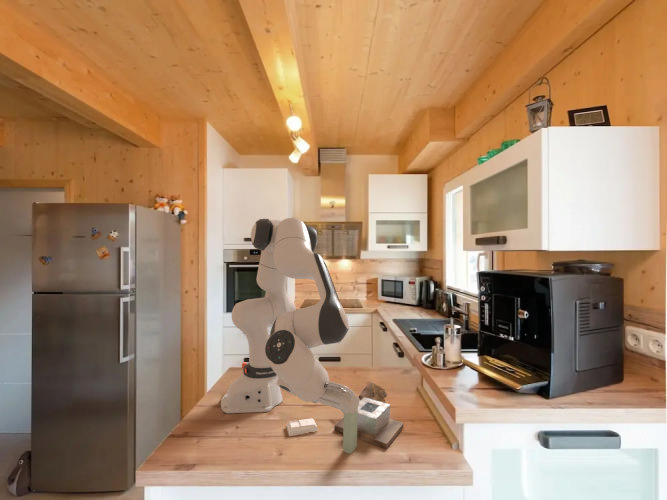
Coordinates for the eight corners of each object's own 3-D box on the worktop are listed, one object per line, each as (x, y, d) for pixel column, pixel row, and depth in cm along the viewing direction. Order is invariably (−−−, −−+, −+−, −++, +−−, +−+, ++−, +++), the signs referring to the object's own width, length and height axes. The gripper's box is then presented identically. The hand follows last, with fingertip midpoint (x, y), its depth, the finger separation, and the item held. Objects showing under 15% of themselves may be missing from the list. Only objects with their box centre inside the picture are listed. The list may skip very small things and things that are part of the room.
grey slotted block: (389, 421, 111) (389, 404, 111) (375, 436, 102) (375, 418, 102) (364, 412, 116) (364, 397, 116) (348, 427, 107) (348, 410, 107)
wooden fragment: (387, 413, 120) (387, 410, 120) (357, 410, 121) (357, 407, 121) (386, 384, 145) (386, 381, 145) (360, 382, 147) (360, 379, 147)
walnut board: (403, 427, 110) (403, 422, 110) (386, 448, 98) (386, 443, 98) (355, 411, 120) (355, 407, 120) (334, 429, 108) (334, 425, 108)
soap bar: (317, 433, 106) (317, 424, 106) (289, 437, 104) (289, 428, 104) (313, 425, 111) (313, 417, 111) (286, 428, 109) (286, 420, 109)
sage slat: (356, 446, 99) (357, 406, 99) (350, 454, 96) (351, 412, 95) (349, 444, 100) (350, 404, 100) (342, 451, 97) (343, 409, 97)
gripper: (352, 377, 76) (370, 403, 84) (283, 359, 87) (304, 384, 95) (342, 405, 72) (361, 429, 81) (270, 382, 83) (294, 406, 91)
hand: (330, 404), depth 88 cm, fingers open, 8 cm apart
